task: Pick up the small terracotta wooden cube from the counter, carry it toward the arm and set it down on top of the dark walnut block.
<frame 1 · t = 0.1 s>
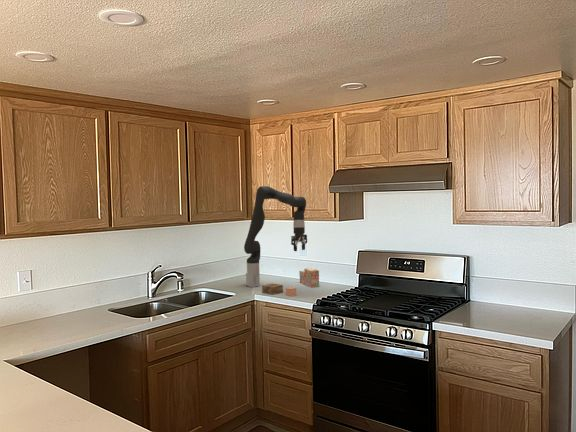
hand: (299, 250, 326), 29 cm above the countertop, tool pointing down, fingers open, 8 cm apart
terracotta cube: (291, 295, 322), on the countertop
walnut block: (272, 292, 332), on the countertop
stack of blocks: (309, 285, 359), on the countertop
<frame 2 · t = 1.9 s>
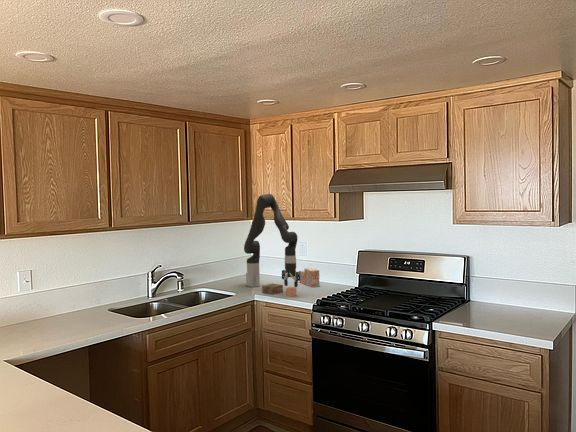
hand: (291, 286, 322), 6 cm above the countertop, tool pointing down, fingers open, 8 cm apart
nothing on the countertop moved.
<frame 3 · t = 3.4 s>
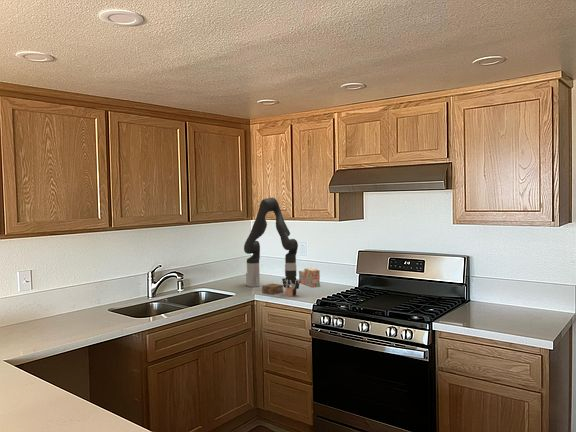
hand: (291, 294, 322), 0 cm above the countertop, tool pointing down, fingers closed on terracotta cube, 5 cm apart
terracotta cube: (291, 295, 322), on the countertop, touching gripper
everything else where it was.
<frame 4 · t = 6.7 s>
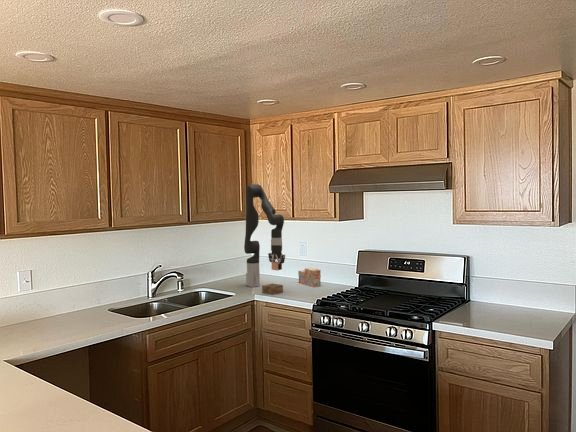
hand: (276, 268, 330), 17 cm above the countertop, tool pointing down, fingers closed on terracotta cube, 5 cm apart
terracotta cube: (276, 269, 330), point 16 cm above the countertop, touching gripper
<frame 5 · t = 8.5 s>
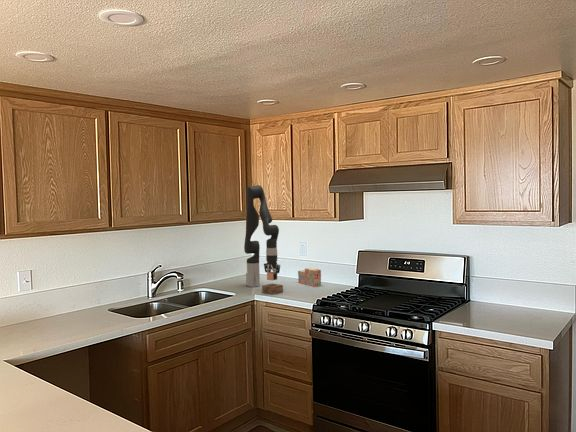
hand: (272, 278, 332), 9 cm above the countertop, tool pointing down, fingers closed on terracotta cube, 5 cm apart
terracotta cube: (272, 279, 332), point 9 cm above the countertop, touching gripper
when the fingers open (7 cm above the countertop, at t = 9.9 s): terracotta cube drops 1 cm, resting on walnut block.
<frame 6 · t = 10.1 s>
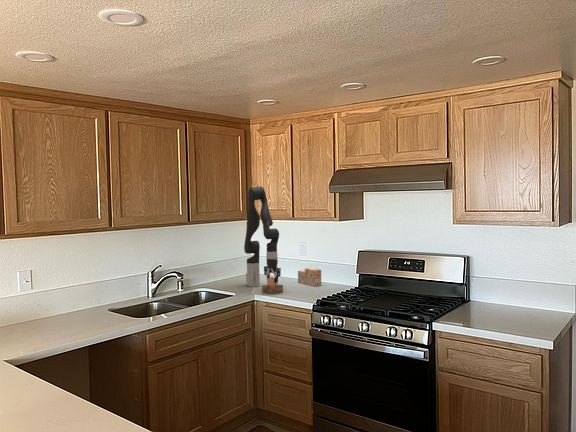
hand: (272, 282, 332), 7 cm above the countertop, tool pointing down, fingers open, 6 cm apart
terracotta cube: (272, 285, 332), point 5 cm above the countertop, touching walnut block
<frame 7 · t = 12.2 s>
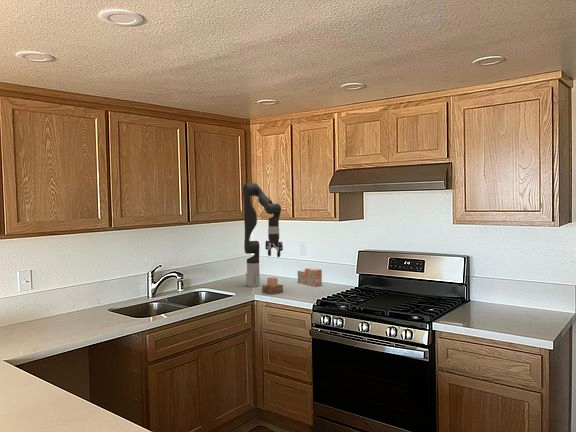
hand: (274, 256, 333), 25 cm above the countertop, tool pointing down, fingers open, 8 cm apart
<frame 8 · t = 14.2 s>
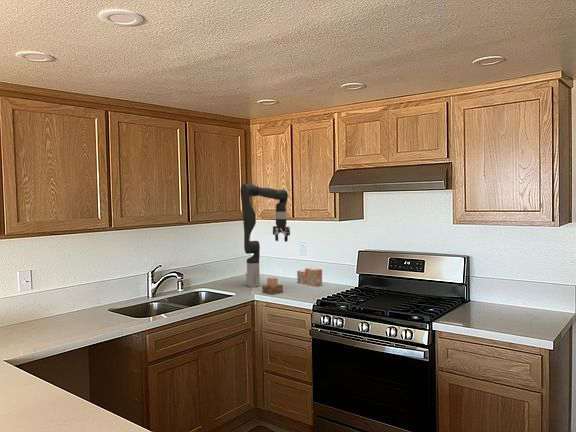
hand: (281, 241, 341), 34 cm above the countertop, tool pointing down, fingers open, 8 cm apart
at the end: terracotta cube inside the target area on the walnut block (0.0 cm from its centre), point 5.0 cm above the walnut block's base; terracotta cube tilted 0°; the gripper is holding nothing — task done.
